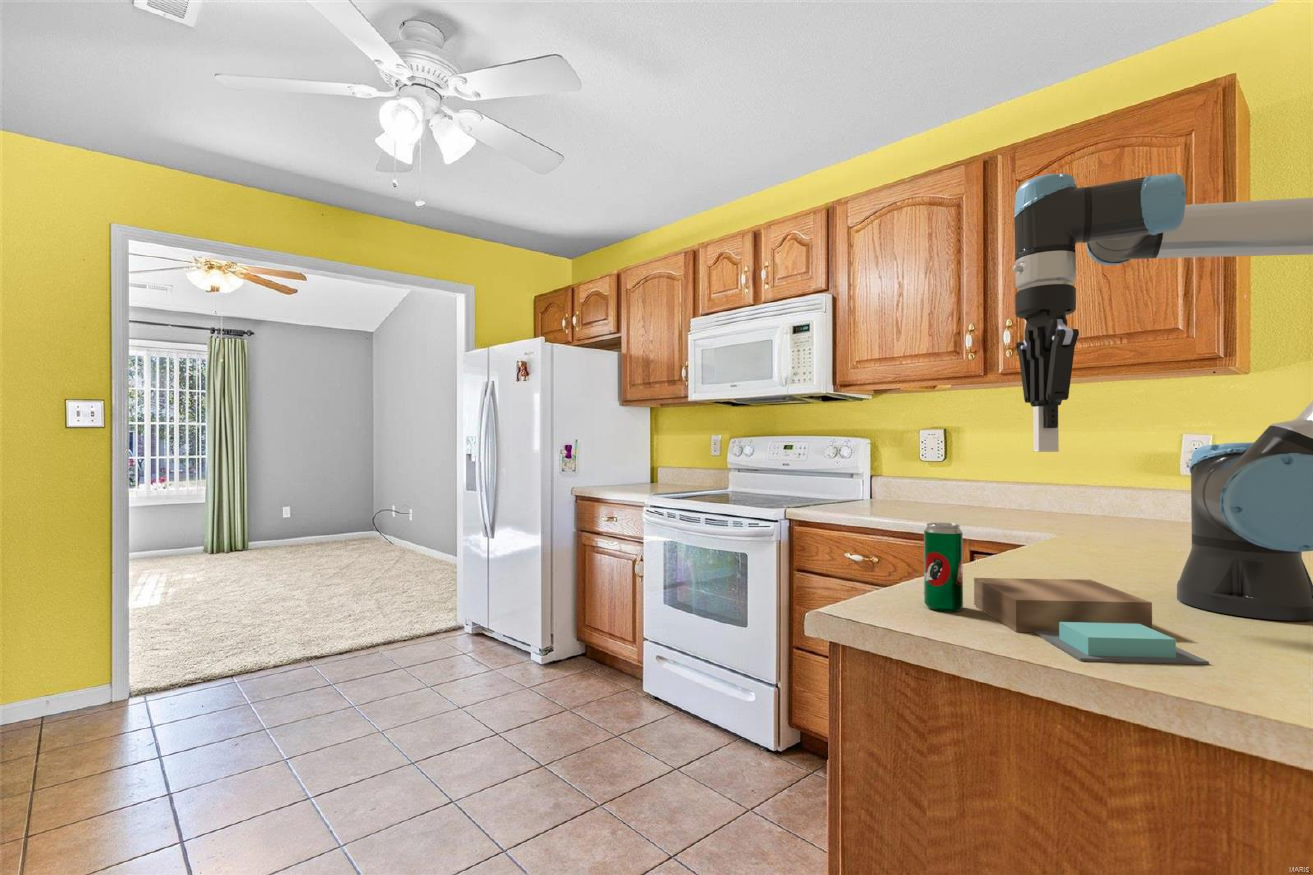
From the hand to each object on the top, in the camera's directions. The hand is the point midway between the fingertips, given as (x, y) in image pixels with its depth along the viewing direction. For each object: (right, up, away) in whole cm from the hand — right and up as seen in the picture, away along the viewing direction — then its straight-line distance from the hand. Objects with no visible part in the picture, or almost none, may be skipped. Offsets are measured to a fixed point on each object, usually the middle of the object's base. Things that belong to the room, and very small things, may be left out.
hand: (1045, 451), depth 92 cm
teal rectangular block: (-4, -20, -19) cm, 28 cm away
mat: (-3, -22, -18) cm, 29 cm away
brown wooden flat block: (-3, -22, -6) cm, 23 cm away
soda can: (-15, -23, -1) cm, 27 cm away
